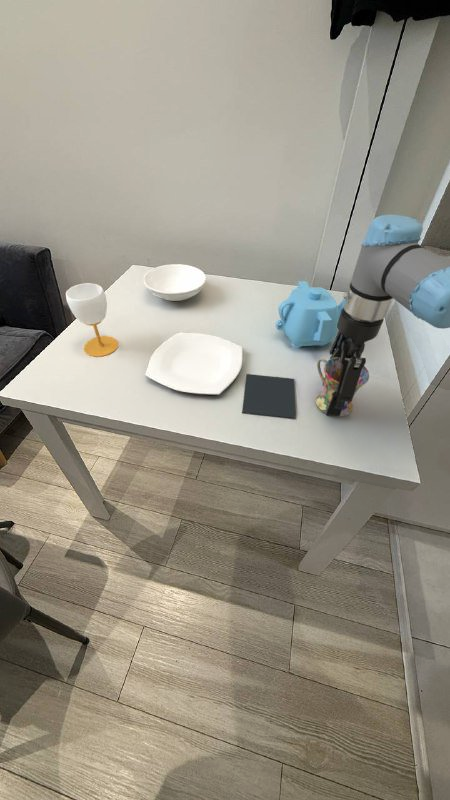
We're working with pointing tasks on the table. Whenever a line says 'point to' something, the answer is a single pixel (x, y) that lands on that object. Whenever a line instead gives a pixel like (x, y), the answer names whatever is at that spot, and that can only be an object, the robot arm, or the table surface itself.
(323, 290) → the teapot
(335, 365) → the mug
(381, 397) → the table surface
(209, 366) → the plate
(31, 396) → the table surface
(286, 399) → the left mat
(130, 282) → the table surface
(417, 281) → the robot arm
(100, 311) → the cup
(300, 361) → the table surface
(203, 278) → the bowl
